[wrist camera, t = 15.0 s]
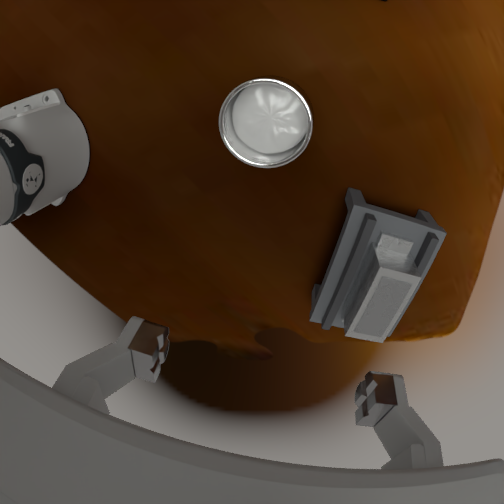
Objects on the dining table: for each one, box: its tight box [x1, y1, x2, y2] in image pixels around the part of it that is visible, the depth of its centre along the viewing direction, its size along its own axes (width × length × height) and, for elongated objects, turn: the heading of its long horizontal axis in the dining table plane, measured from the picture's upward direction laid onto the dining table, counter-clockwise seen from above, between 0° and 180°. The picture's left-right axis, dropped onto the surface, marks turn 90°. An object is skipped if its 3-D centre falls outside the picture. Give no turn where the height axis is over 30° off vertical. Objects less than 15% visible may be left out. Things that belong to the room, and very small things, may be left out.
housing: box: [342, 231, 422, 343], centre depth 34 cm, size 13×5×5 cm, turn 169°
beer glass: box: [219, 75, 314, 168], centre depth 27 cm, size 7×7×15 cm
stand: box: [310, 187, 447, 337], centre depth 38 cm, size 12×17×8 cm
